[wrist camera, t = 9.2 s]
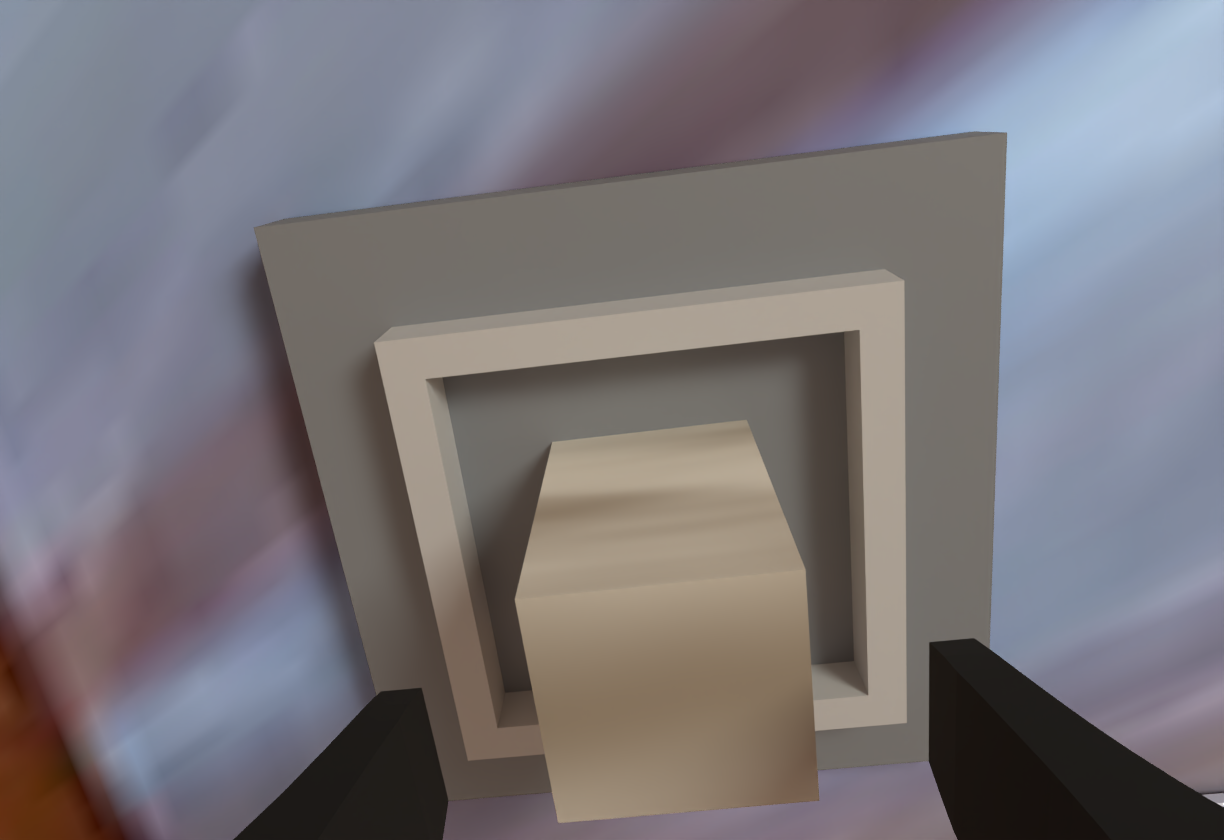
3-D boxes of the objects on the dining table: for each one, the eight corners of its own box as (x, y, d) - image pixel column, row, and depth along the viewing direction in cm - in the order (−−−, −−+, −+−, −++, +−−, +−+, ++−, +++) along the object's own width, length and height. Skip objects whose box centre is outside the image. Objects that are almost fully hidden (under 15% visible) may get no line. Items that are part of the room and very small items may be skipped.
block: (760, 590, 18) (818, 800, 13) (580, 608, 19) (558, 823, 13) (747, 419, 17) (805, 569, 11) (552, 441, 17) (515, 599, 12)
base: (961, 713, 21) (1007, 794, 19) (419, 760, 22) (392, 844, 19) (974, 131, 16) (1037, 133, 14) (284, 219, 17) (225, 235, 15)
